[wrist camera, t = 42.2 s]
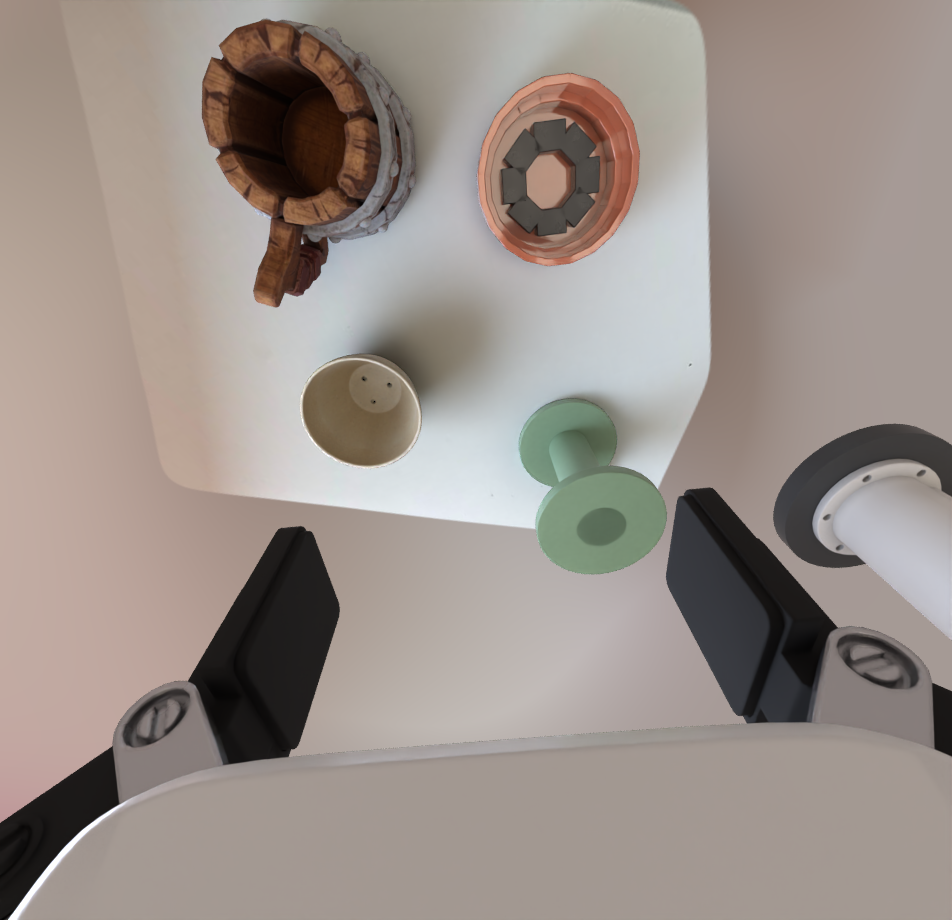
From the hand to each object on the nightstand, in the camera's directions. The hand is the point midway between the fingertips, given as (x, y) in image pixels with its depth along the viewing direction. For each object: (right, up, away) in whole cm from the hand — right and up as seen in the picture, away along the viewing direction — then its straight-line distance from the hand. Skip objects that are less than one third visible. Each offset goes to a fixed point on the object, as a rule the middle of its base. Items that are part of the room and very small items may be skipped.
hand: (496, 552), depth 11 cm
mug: (-11, +24, +23) cm, 35 cm away
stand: (+9, +4, +35) cm, 36 cm away
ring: (+5, +24, +23) cm, 33 cm away
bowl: (+5, +24, +23) cm, 34 cm away
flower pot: (-10, +10, +32) cm, 35 cm away
